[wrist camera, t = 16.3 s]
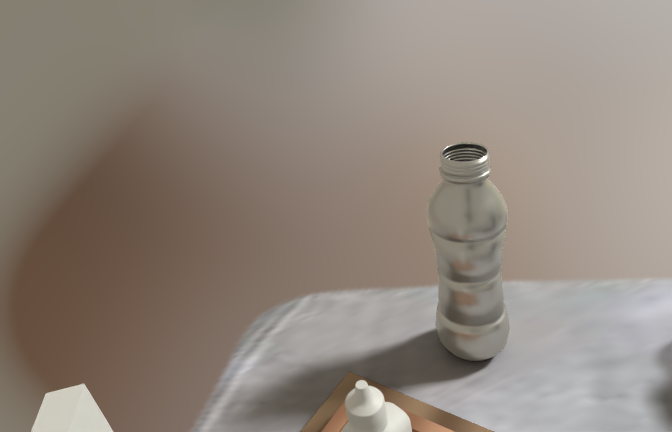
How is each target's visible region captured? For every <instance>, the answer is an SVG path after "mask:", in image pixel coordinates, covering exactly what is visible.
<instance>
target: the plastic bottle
mask: <svg viewBox="0 0 672 432" xmlns="http://www.w3.org/2000/svg"><path fill="white" fill-rule="evenodd" d="M440 162H441V167H440V176H441V178H442V179H443V180H442V182H441V183H440V184H439V185H438V187H437V188H436V189H435V191H434V192H433V194H432V195H431V197H430V199H429V202H428V206H427V210H426V216H427V222H428V226H429V230H430V234H431V237H432V241H433V245H434V249H435V255H436V261H437V266H438V275H439V302H438V306H437V313H436V328H437V332H438V335H439V338H440V340H441V342H442V344H443V345H444V346H445V348H446V349H448V350H449V351H450V352H451V353H452V354H454V355H455V356H457V357H459V358H462V359H465V360H469V361H482V360H486V359H489V358H492V357H493V356H495V355H496V354H498V353H499V352H500V351H501V350H502V349H503V348H504V346H505V345H506V342H507V337H508V333H509V329H510V327H509V320H508V314H507V310H506V307H505V304H504V298H503V289H502V281H501V272H502V269H501V266H502V251H503V245H504V239H505V233H506V227H507V220H508V209H507V206H506V203H505V200H504V198H503V196H502V195H501V193H500V192H499V191H498V189H497V188H496V187H495V186H494V185H493V183H491V182H490V180H489V179H488V177H489V176H490V174H491V166H490V164H489V150H488V148H486V147H485V146H484V145H481V144H478V143H470V142H465V143H457V144H452V145H449V146H447V147H445V148H444V149H442V151H441V154H440Z"/></svg>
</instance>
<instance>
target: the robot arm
mask: <svg viewBox="0 0 672 432" xmlns="http://www.w3.org/2000/svg"><path fill="white" fill-rule="evenodd" d="M31 432H113V430H112V429H111V427H110V426H109V424H108V422H107V421H106V419H105V417H104V416H103V414H102V413H101V411H100V409H99V407H98V406H97V404H96V402H95V401H94V399H93V397H92V396H91V394H90V393H89V391H88V390H87V388H86V386H85V384H81V385H78V386H73V387H69V388H65V389H61V390H57V391H54V392H50V393H46V395H45V397H44V400H43V402H42V405H41V408H40V410H39V413H38V415H37V418H36V421H35V423H34V426H33V428H32V431H31Z"/></svg>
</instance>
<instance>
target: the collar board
mask: <svg viewBox="0 0 672 432" xmlns="http://www.w3.org/2000/svg"><path fill="white" fill-rule="evenodd" d="M359 380H364V381H366V382H367V384H368V386H373V387H375V388H377V389H378V390H380V391H381V392H382V394H383V396H384V400H385V402H390V403H393V404H395V405H396V406H398V407H399V408H400V409H402V410H403V411H404V412H405V413H406V414H407V415H408V417H409V419H410V422H411V428H412V432H493V431H491V430H489V429H486V428H484V427H481V426H479V425H477V424H474V423H472V422H469V421H467V420H465V419H462V418H460V417H457V416H455V415H453V414H450V413H448V412H445V411H443V410H441V409H438V408H436V407H433V406H431V405H429V404H426V403H424V402H421V401H419V400H416V399H414V398H412V397H409V396H407V395H404V394H402V393H400V392H397V391H395V390H392V389H390V388H388V387H385V386H383V385H380V384H378V383H376V382H373V381H371V380H368V379H366V378H364V377H361V376H359V375H356V374H354V373H352V372H348V373H347V375H346V376H345V377H344V378H343V380H342V381H341V382H340V383H339V385H338V386H337V387H336V388H335V390H334V391H333V392H332V393H331V395H330V396H329V397H328V398H327V399H326V401H325V402H324V403H323V404H322V406H321V407H320V408H319V409H318V411H317V412H316V413H315V414H314V416H313V417H312V418H311V419H310V421H309V422H308V423H307V424H306V426H305V427H304V428H303V429H302V431H301V432H341V431H342V429H343V428H344V426H345V425H346V424H347V422H348V417H347V413H346V408H345V400H346V397H347V395H348V394H349V392H351V391H352V390H353V389H355V384H356V382H357V381H359Z"/></svg>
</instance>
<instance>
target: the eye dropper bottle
mask: <svg viewBox="0 0 672 432" xmlns="http://www.w3.org/2000/svg"><path fill="white" fill-rule="evenodd" d="M345 408H346V413H347V417H348V422H347V424H346V425H345V426H344V428H343V429H342V431H341V432H412V428H411V422H410V419H409V417H408V415H407V414H406V413H405V412H404V411H403V410H402V409H400V408H399V407H398V406H396V405H395V404H393V403H390V402H385V400H384V396H383V394H382V392H381V391H380V390H378V389H377V388H375V387H373V386H368V384H367V382H366V381H364V380H359V381H357V382H356V384H355V389H353V390H352V391H351V392H349V394H348V395H347V397H346V400H345Z"/></svg>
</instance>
